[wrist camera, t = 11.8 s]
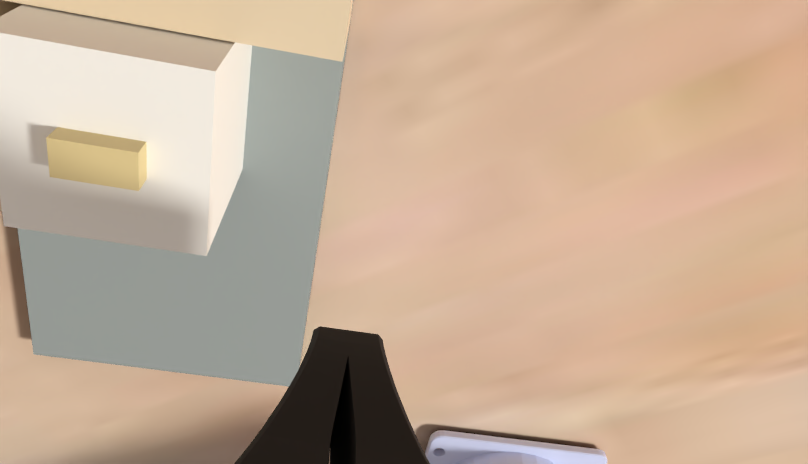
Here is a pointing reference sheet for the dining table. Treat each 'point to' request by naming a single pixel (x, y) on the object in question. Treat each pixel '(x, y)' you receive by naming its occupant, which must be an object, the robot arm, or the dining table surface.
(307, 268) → the board
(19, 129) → the cabinet block
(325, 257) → the dining table surface
